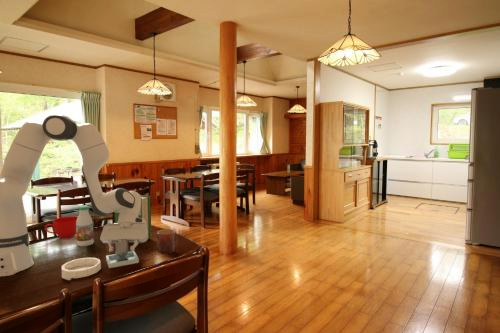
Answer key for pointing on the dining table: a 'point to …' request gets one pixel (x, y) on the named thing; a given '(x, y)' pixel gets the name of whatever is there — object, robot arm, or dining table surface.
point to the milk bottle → (84, 227)
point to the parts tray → (112, 261)
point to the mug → (166, 240)
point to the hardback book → (142, 213)
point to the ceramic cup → (64, 227)
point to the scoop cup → (121, 250)
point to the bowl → (80, 268)
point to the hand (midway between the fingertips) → (121, 250)
